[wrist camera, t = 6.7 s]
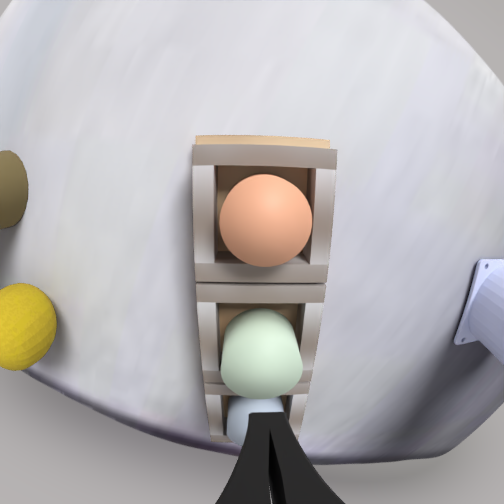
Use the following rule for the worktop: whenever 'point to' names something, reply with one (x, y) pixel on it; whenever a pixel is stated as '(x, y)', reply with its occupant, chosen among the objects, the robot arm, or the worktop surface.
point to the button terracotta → (265, 220)
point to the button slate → (247, 414)
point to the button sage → (260, 355)
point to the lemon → (25, 326)
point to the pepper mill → (12, 189)
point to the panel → (254, 277)
